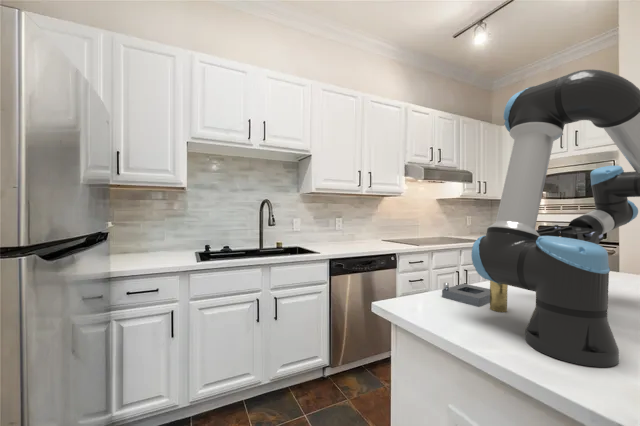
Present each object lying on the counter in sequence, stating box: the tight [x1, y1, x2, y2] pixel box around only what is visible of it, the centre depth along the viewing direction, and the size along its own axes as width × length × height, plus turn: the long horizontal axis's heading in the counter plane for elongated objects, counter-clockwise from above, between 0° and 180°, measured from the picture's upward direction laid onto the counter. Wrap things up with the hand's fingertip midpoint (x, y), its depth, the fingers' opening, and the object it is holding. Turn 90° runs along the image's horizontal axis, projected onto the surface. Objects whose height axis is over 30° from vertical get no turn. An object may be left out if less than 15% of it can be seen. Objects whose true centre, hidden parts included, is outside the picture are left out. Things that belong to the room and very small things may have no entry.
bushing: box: [489, 280, 509, 313], centre depth 87 cm, size 4×4×12 cm
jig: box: [441, 282, 490, 308], centre depth 99 cm, size 14×12×4 cm
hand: (536, 250), depth 89 cm, fingers open, 13 cm apart
